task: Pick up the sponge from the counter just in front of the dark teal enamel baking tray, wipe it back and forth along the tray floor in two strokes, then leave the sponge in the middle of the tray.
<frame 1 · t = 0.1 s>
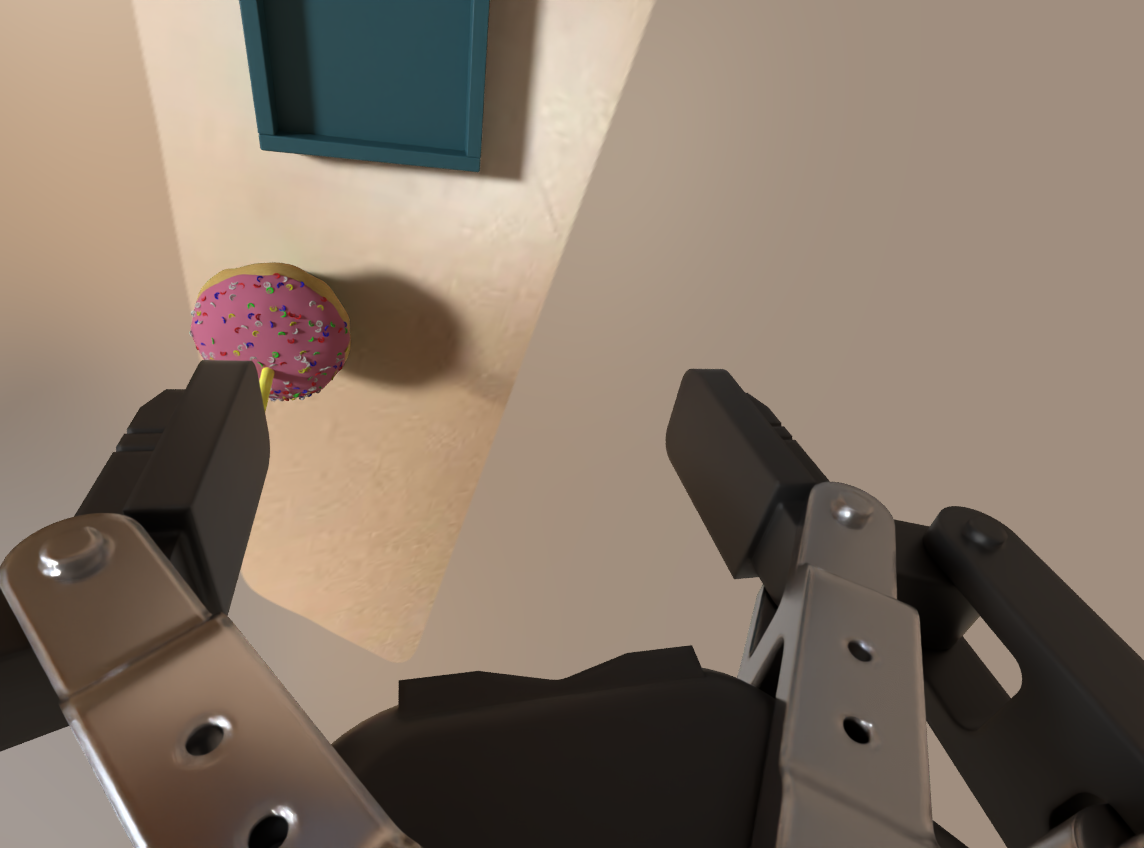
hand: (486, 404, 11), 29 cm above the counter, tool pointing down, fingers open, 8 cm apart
cupcake: (286, 300, 39), on the counter
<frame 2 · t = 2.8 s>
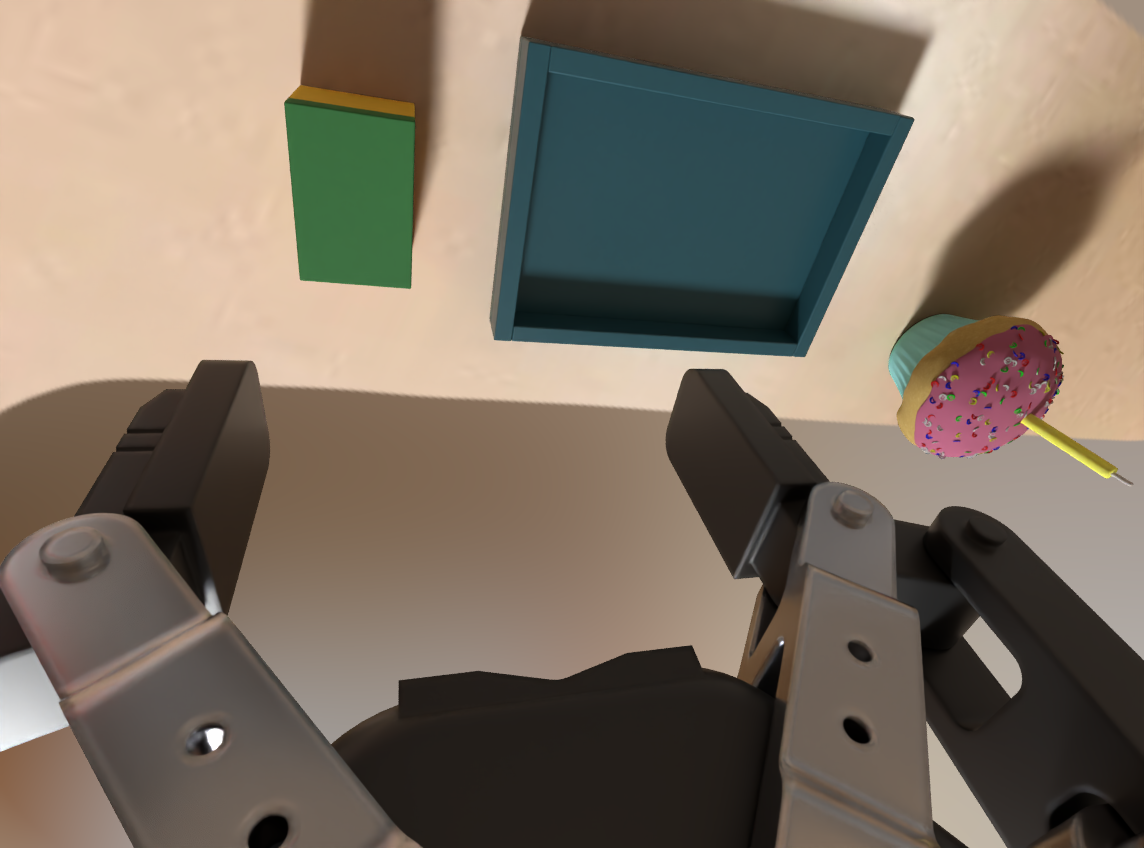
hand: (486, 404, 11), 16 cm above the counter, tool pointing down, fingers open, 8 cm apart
cupcake: (920, 349, 36), on the counter
tray: (680, 218, 27), on the counter
sponge: (360, 178, 24), on the counter
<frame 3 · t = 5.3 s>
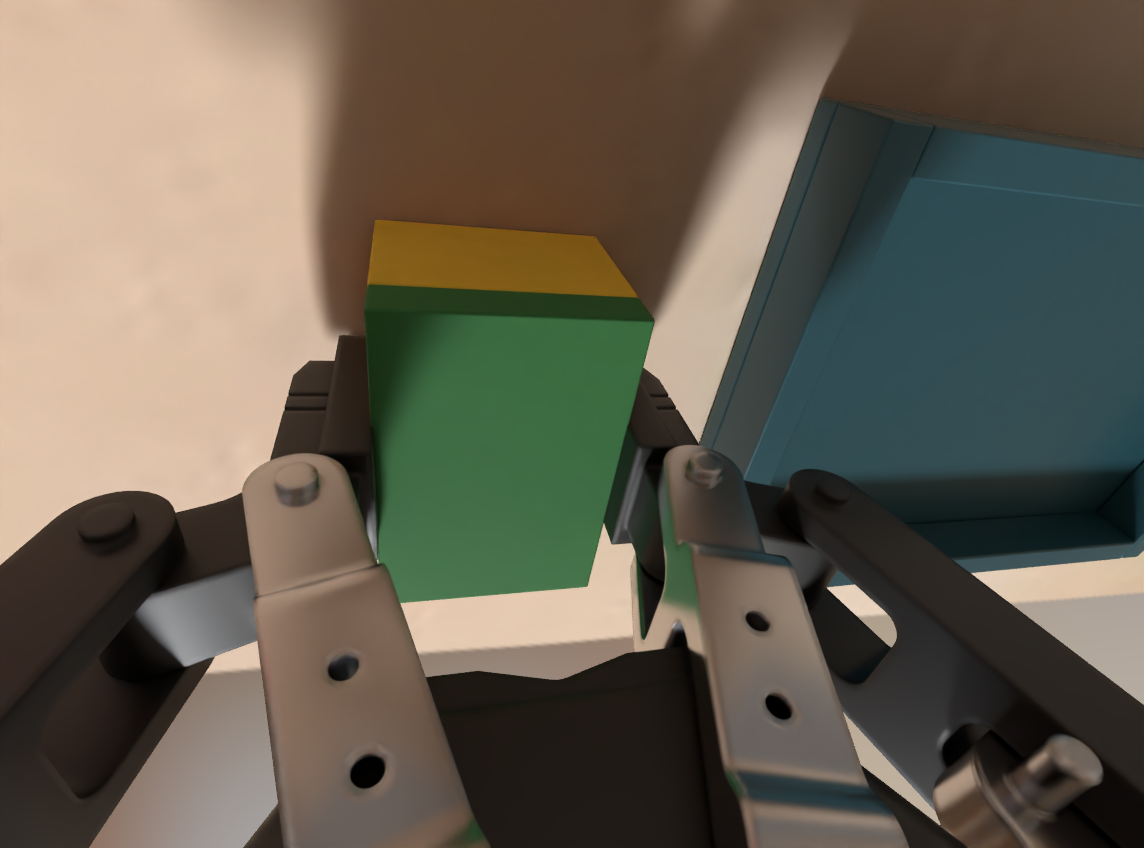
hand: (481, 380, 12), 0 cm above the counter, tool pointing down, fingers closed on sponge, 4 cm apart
tray: (996, 376, 16), on the counter
sponge: (480, 369, 12), on the counter, touching gripper
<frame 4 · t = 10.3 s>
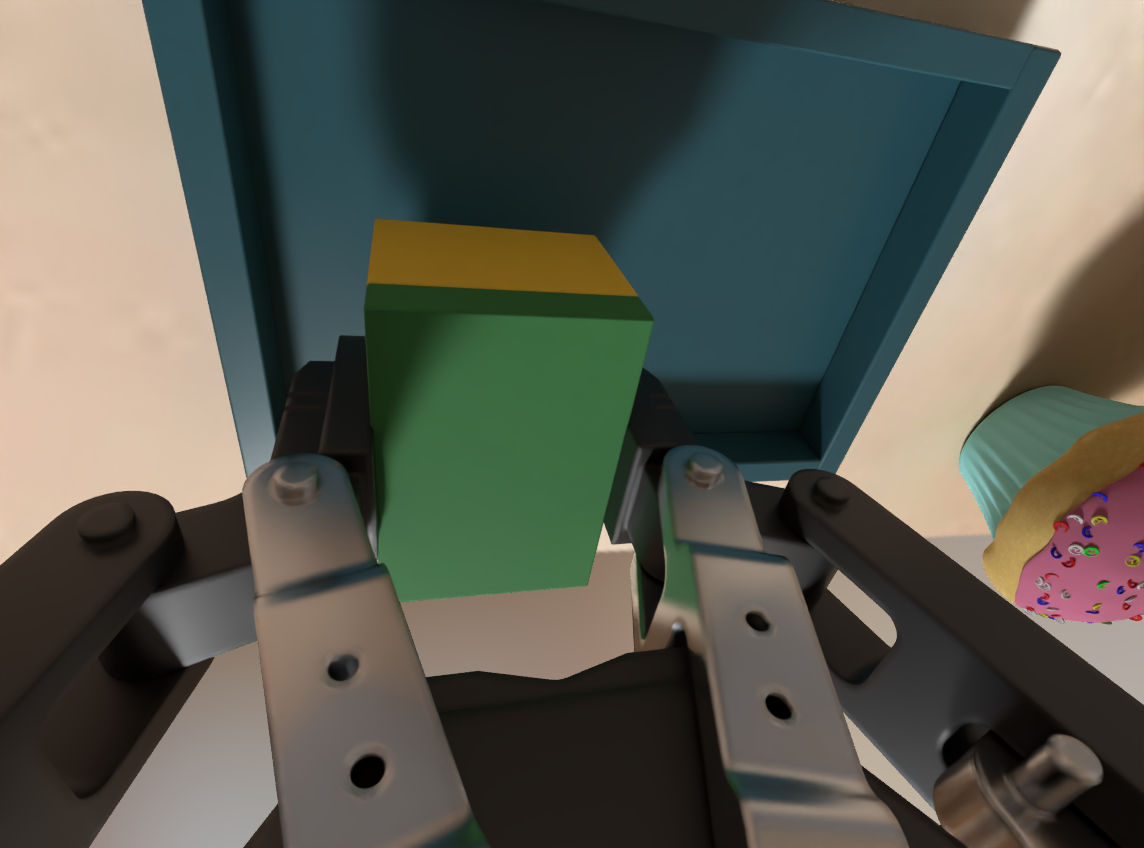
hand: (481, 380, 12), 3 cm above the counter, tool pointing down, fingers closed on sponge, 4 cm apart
cupcake: (1007, 434, 23), on the counter
tray: (600, 260, 15), on the counter
sponge: (480, 368, 12), point 3 cm above the counter, touching gripper
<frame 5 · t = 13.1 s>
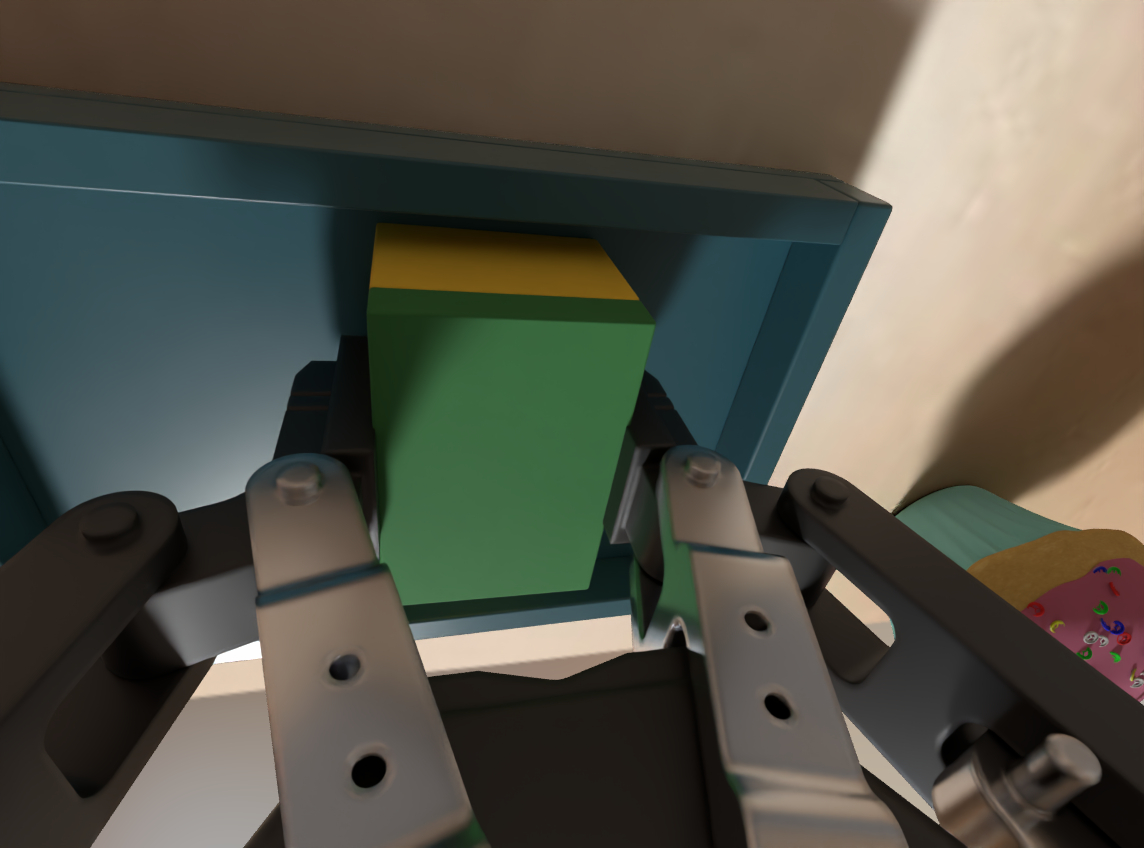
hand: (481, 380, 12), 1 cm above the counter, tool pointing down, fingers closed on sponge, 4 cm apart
cupcake: (920, 530, 22), on the counter
tray: (420, 407, 13), on the counter
sponge: (481, 371, 12), point 1 cm above the counter, touching gripper
when the fingers open (1 cm above the counter, at t = 15.2 s): sponge stays where it is, resting on tray.
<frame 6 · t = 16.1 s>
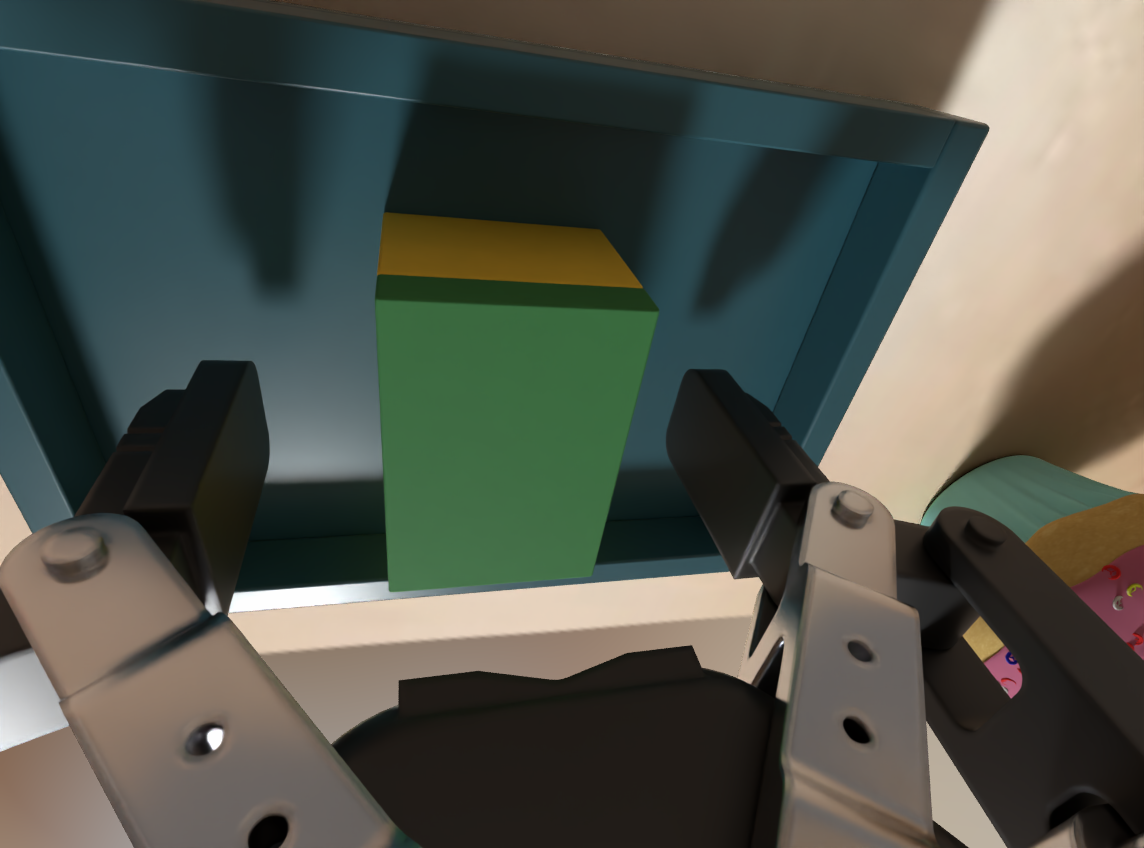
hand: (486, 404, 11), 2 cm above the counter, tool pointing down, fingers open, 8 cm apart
cupcake: (971, 503, 21), on the counter
tray: (480, 348, 13), on the counter
sponge: (486, 361, 13), point 1 cm above the counter, touching tray
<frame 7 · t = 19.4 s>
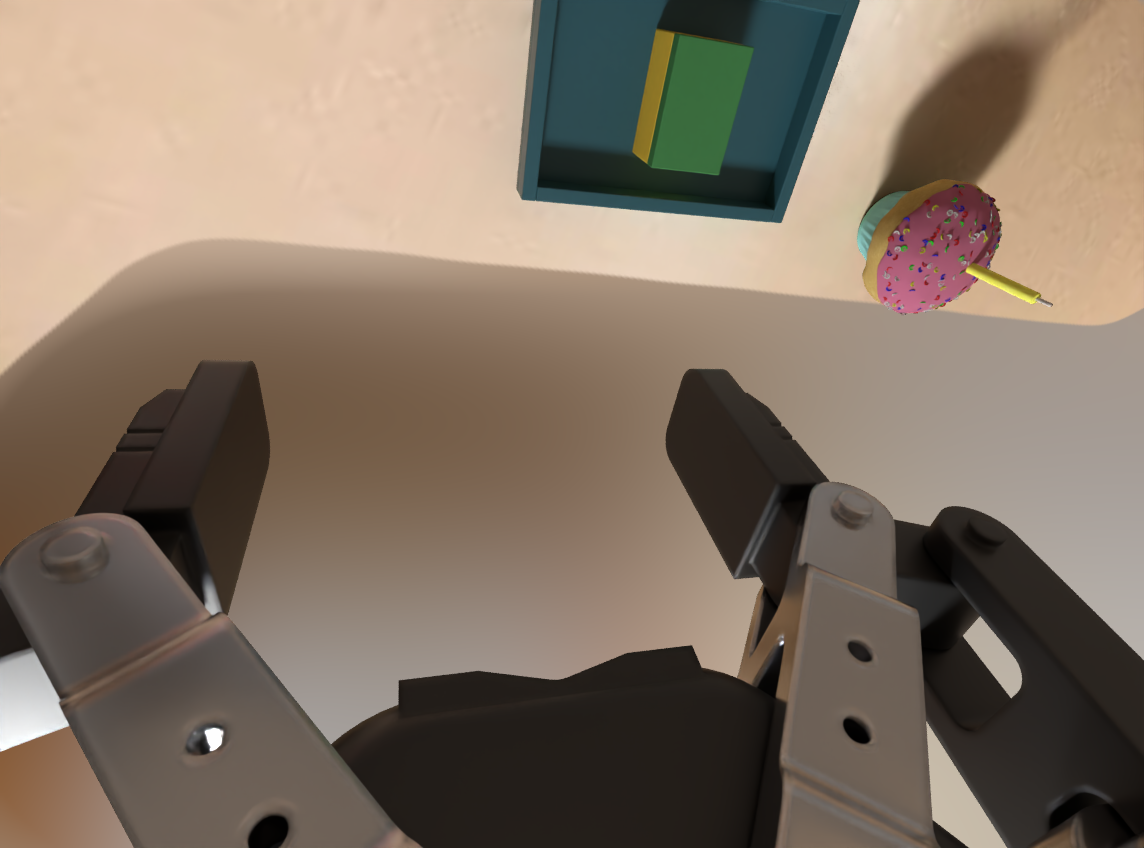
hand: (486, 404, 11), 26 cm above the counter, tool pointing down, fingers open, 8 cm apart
cupcake: (884, 226, 42), on the counter
tray: (671, 96, 33), on the counter
sponge: (676, 98, 33), point 1 cm above the counter, touching tray
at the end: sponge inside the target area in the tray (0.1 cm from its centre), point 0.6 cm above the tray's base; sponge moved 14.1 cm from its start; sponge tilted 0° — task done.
